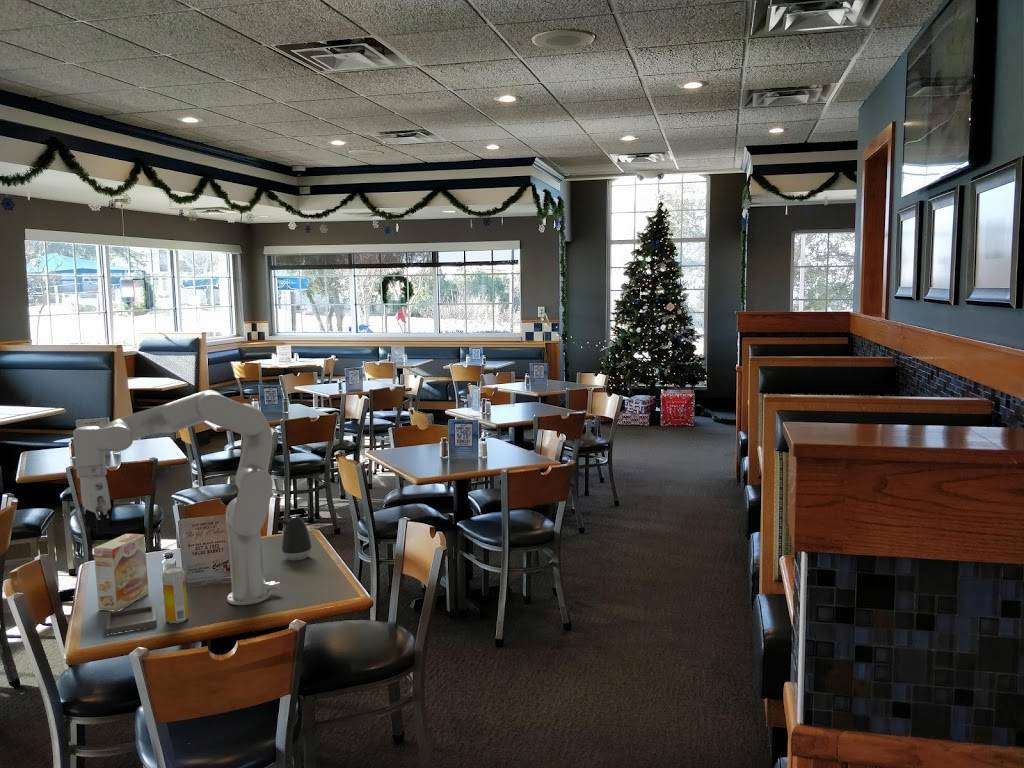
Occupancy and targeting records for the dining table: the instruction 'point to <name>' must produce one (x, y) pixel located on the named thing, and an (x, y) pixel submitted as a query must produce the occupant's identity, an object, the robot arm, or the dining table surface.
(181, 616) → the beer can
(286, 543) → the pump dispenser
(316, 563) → the dining table surface
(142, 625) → the tray
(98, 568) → the coffeecake box
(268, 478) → the robot arm
